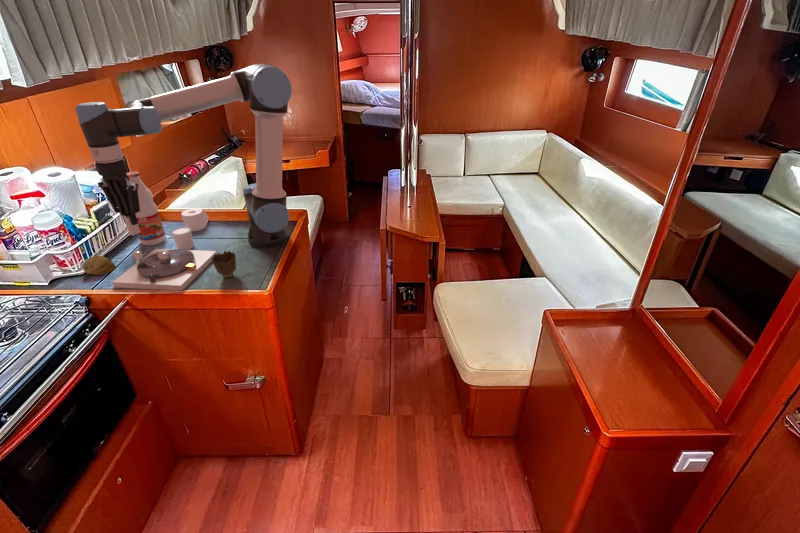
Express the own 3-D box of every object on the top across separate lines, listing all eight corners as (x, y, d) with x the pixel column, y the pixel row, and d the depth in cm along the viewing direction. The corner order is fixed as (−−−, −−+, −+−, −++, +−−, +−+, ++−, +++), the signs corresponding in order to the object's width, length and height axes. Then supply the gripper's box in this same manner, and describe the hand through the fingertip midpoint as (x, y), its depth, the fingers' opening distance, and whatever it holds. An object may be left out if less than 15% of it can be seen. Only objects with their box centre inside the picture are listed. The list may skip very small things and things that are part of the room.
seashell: (112, 275, 155) (96, 258, 154) (123, 264, 153) (107, 247, 152) (90, 285, 146) (73, 267, 145) (102, 273, 144) (84, 255, 143)
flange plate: (177, 248, 159) (172, 232, 156) (208, 263, 149) (203, 246, 145) (128, 268, 147) (121, 251, 143) (158, 286, 136) (151, 268, 133)
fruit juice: (169, 234, 175) (148, 168, 161) (163, 244, 167) (140, 176, 153) (144, 237, 174) (121, 170, 160) (137, 247, 166) (112, 177, 152)
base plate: (217, 255, 159) (214, 244, 156) (182, 290, 138) (178, 278, 136) (157, 253, 161) (153, 242, 159) (114, 287, 140) (109, 275, 138)
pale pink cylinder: (198, 243, 168) (194, 227, 164) (189, 251, 162) (184, 234, 159) (182, 242, 169) (177, 226, 165) (172, 250, 163) (167, 234, 159)
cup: (218, 284, 141) (213, 263, 137) (215, 274, 147) (210, 254, 143) (241, 278, 144) (236, 258, 140) (237, 269, 150) (232, 249, 146)
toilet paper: (209, 219, 188) (205, 205, 185) (203, 230, 179) (199, 215, 175) (190, 221, 187) (186, 206, 184) (183, 231, 178) (178, 216, 174)
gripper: (80, 161, 121) (108, 236, 133) (116, 164, 118) (142, 240, 129) (102, 154, 127) (128, 226, 139) (137, 157, 124) (160, 230, 136)
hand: (135, 233), depth 134 cm, fingers closed
